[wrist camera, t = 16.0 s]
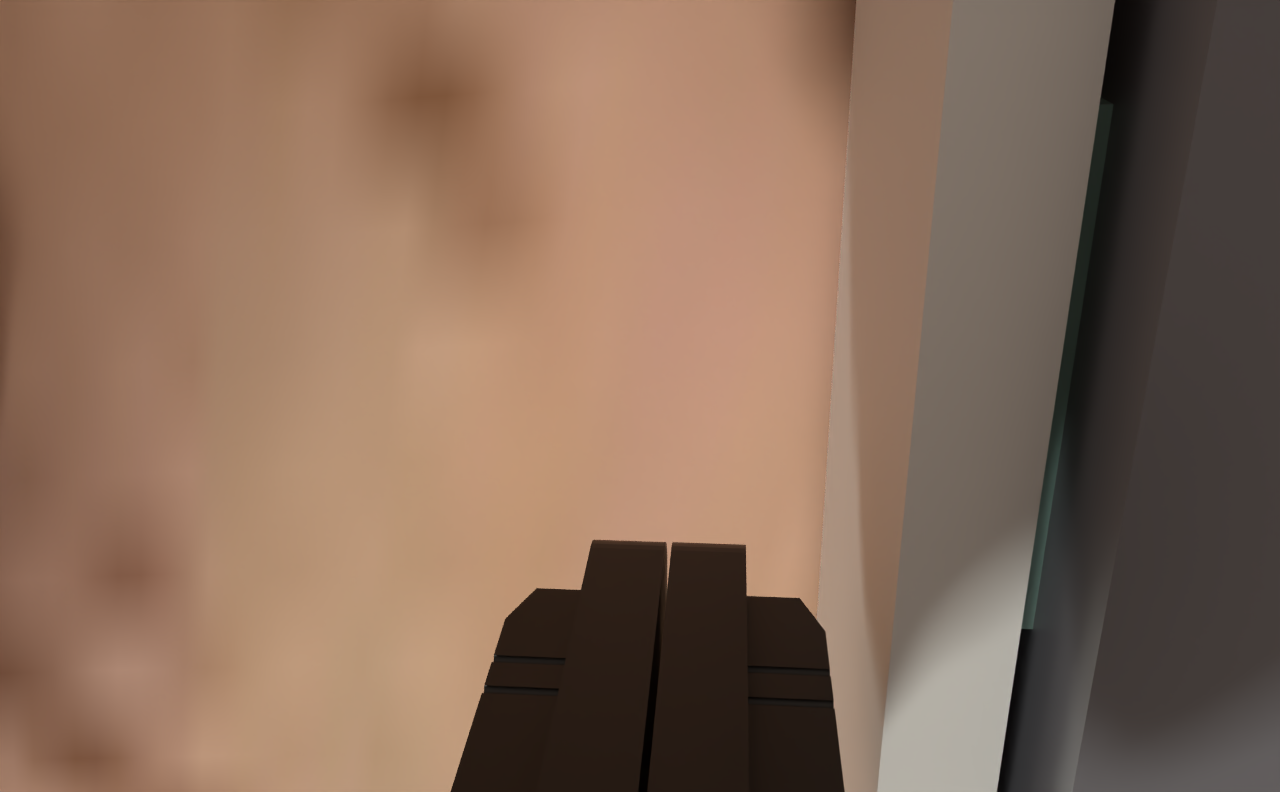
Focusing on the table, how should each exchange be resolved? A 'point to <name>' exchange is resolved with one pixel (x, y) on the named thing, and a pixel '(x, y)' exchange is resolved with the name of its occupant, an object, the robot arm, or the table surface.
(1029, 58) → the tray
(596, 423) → the table surface
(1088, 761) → the housing
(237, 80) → the table surface
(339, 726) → the table surface
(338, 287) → the table surface
